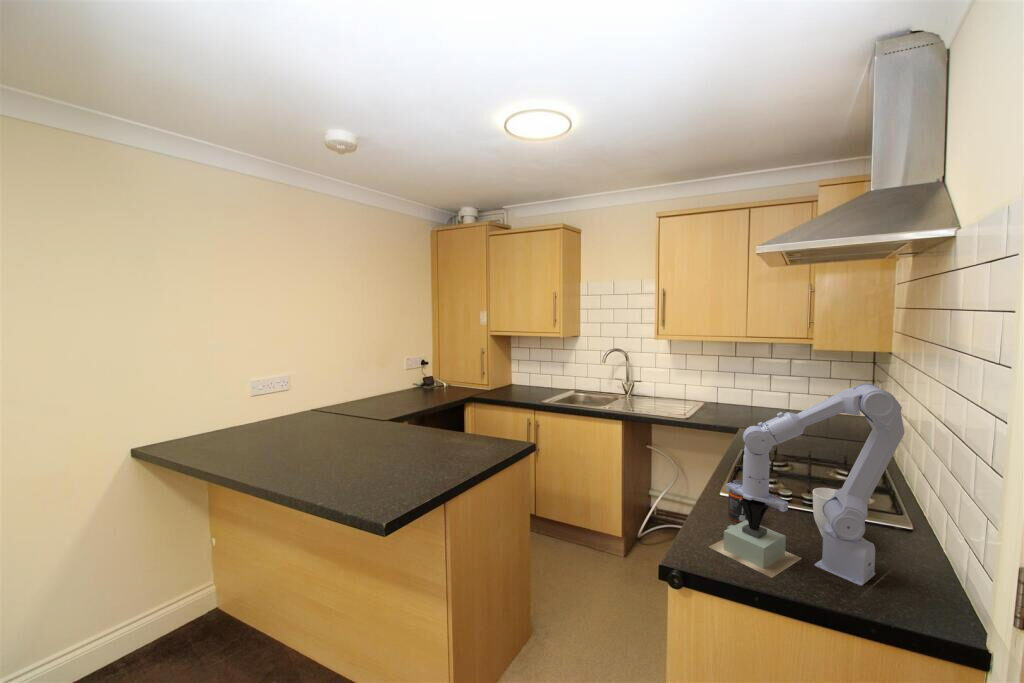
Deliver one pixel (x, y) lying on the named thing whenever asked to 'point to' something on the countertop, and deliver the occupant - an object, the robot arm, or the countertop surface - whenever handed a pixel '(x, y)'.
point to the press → (754, 545)
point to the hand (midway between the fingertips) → (754, 528)
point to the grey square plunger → (754, 531)
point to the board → (769, 570)
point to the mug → (821, 505)
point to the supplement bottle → (736, 506)
